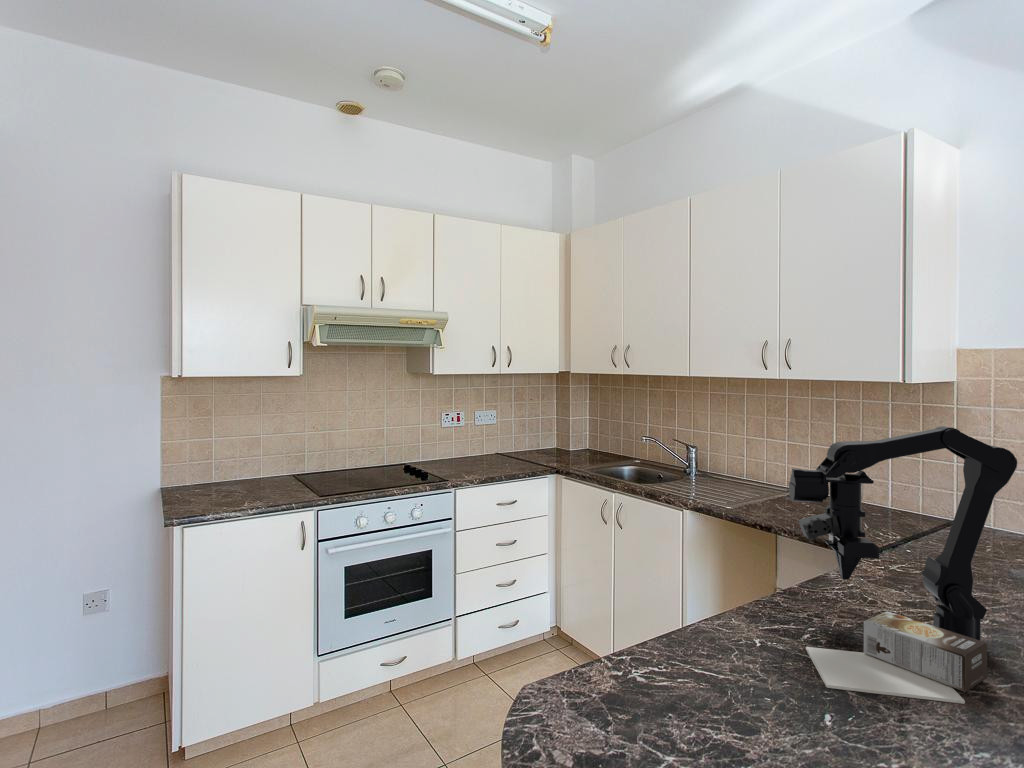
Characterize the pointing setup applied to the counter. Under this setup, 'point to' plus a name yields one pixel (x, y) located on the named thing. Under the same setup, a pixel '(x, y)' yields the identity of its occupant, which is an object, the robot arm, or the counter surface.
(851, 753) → the counter surface
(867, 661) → the mat
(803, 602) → the counter surface
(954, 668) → the coffee box
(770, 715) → the counter surface
